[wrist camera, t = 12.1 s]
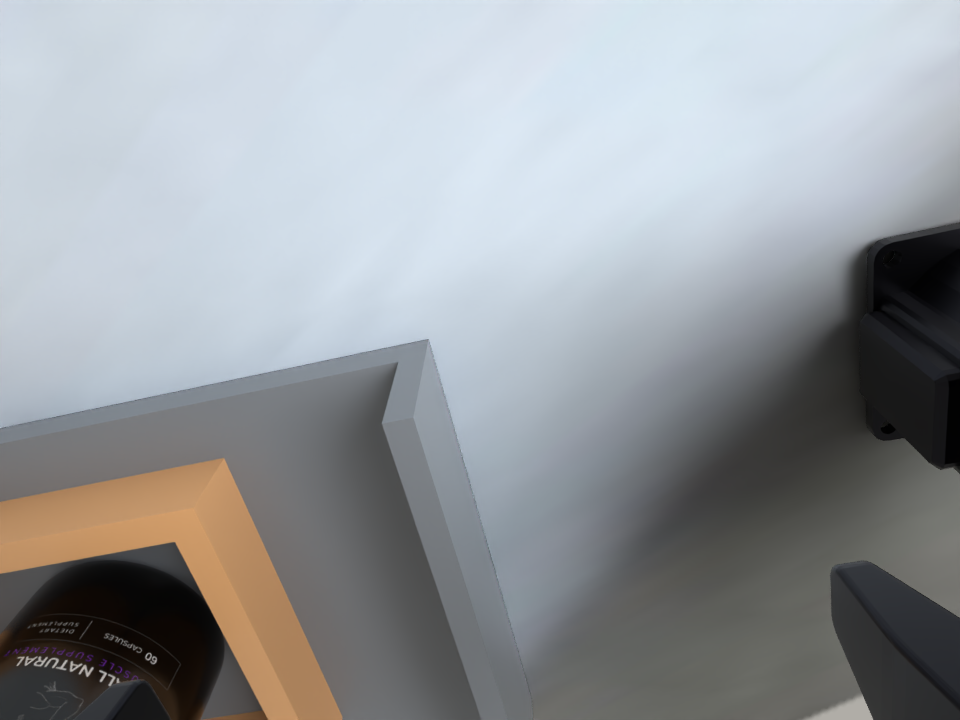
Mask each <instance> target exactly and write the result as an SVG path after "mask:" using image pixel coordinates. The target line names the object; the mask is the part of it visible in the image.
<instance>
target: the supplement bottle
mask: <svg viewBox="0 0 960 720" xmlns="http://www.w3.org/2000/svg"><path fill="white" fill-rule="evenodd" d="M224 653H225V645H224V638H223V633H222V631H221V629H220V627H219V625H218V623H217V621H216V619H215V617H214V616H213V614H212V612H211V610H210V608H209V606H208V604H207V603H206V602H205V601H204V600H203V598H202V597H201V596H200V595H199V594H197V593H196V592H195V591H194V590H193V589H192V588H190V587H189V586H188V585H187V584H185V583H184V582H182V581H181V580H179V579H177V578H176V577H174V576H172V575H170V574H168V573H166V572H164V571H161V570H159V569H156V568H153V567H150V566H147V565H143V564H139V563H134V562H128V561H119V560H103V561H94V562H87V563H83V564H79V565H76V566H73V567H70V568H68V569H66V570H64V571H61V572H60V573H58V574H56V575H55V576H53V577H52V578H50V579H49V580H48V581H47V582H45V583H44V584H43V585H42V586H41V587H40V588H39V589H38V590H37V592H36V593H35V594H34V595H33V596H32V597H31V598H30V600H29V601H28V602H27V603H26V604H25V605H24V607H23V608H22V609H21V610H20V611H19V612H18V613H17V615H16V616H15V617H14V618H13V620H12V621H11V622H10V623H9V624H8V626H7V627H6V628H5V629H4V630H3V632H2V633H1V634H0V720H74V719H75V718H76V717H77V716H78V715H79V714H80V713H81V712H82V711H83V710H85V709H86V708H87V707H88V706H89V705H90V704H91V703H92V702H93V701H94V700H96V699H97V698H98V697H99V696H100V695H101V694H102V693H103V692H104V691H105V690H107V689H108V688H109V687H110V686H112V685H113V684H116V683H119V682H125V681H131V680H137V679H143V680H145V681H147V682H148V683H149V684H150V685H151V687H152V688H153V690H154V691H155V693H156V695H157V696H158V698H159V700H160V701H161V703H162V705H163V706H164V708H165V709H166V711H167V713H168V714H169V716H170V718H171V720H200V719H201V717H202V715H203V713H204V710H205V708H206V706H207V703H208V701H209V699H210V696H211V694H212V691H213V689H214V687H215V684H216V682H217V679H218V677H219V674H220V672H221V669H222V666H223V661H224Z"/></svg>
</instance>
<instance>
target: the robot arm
mask: <svg viewBox="0 0 960 720" xmlns="http://www.w3.org/2000/svg"><path fill="white" fill-rule="evenodd" d="M891 251H894V253H895V254H894V257H893V259H892V260H891V261H890V262H888V263H886V264H883V258H884V256H885V255H886V254H887V253H888V252H891ZM860 393H861V395H862V396H863V397H864V398H865V399H866V424H867V428H868V429H869V430H870V431H871V432H872V433H873V435H874V436H875V437H876V438H877V439H880V440H883V441H885V440H894V439H900V438H905V439H906V440H907V441H908V442H909V443H910V444H911V445H912V446H913V447H914V448H915V449H916V450H917V451H918V452H919V453H920V454H921V455H922V456H923V457H924V458H925V459H926V460H927V461H928V462H929V463H930V464H932V465H934V466H935V467H937V468H938V469H940V470H942V469H948V468H954V469H955V470H956V471H957V472H958V473H959V474H960V223H956V224H951V225H947V226H942V227H937V228H932V229H928V230H923V231H918V232H913V233H909V234H904V235H899V236H894V237H889V238H885V239H882V240H880V241H878V242H877V243H875V244H874V245H873V246H872V247H871V249H870V250H869V252H868V255H867V313H866V314H865V315H864V316H863V318H862V319H861V321H860ZM885 421H888V422H889V424H888V425H887V426H885V427H881V426H882V424H883V423H884V422H885ZM830 579H831V613H832V621H833V625H834V628H835V631H836V634H837V636H838V639H839V641H840V643H841V646H842V648H843V650H844V653H845V655H846V657H847V660H848V662H849V664H850V667H851V669H852V671H853V673H854V676H855V678H856V680H857V683H858V685H859V687H860V690H861V692H862V694H863V697H864V699H865V701H866V704H867V706H868V708H869V710H870V713H871V715H872V717H873V720H960V618H959V617H957V616H956V615H954V614H953V613H951V612H950V611H948V610H946V609H945V608H943V607H942V606H940V605H938V604H937V603H935V602H934V601H932V600H930V599H929V598H927V597H926V596H924V595H922V594H921V593H919V592H918V591H916V590H914V589H913V588H911V587H910V586H908V585H906V584H905V583H903V582H902V581H900V580H898V579H897V578H895V577H894V576H892V575H891V574H889V573H887V572H886V571H884V570H883V569H881V568H879V567H878V566H876V565H875V564H873V563H871V562H868V561H857V562H850V563H844V564H838V565H836V566H834V567H833V568H832V570H831V575H830ZM74 720H171V718H170V716H169V714H168V713H167V711H166V709H165V708H164V706H163V705H162V703H161V701H160V700H159V698H158V696H157V695H156V693H155V691H154V690H153V688H152V687H151V685H150V684H149V683H148V682H147V681H145V680H143V679H137V680H131V681H125V682H119V683H116V684H113V685H112V686H110V687H109V688H108V689H107V690H105V691H104V692H103V693H102V694H101V695H100V696H99V697H98V698H97V699H96V700H94V701H93V702H92V703H91V704H90V705H89V706H88V707H87V708H86V709H85V710H83V711H82V712H81V713H80V714H79V715H78V716H77V717H76V718H75V719H74Z"/></svg>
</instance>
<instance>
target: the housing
mask: <svg viewBox="0 0 960 720" xmlns="http://www.w3.org/2000/svg"><path fill="white" fill-rule="evenodd" d="M103 560H119V561H128V562H134V563H139V564H143V565H147V566H150V567H153V568H156V569H159V570H161V571H164V572H166V573H168V574H170V575H172V576H174V577H176V578H177V579H179V580H181V581H182V582H184V583H185V584H187V585H188V586H189V587H190V588H192V589H193V590H194V591H195V592H196V593H197V594H199V595H200V596H201V597H202V598H203V600H204V601H205V602H206V603H207V604H208V606H209V608H210V610H211V612H212V614H213V616H214V617H215V619H216V621H217V623H218V625H219V627H220V629H221V631H222V633H223V638H224V645H225V653H224V661H223V666H222V669H221V672H220V674H219V677H218V679H217V682H216V684H215V687H214V689H213V691H212V694H211V696H210V699H209V701H208V703H207V706H206V708H205V710H204V713H203V715H202V717H201V719H200V720H533V710H532V698H531V694H530V691H529V687H528V684H527V681H526V677H525V674H524V670H523V667H522V663H521V660H520V656H519V653H518V649H517V646H516V642H515V639H514V635H513V632H512V628H511V625H510V621H509V618H508V614H507V611H506V607H505V604H504V600H503V597H502V593H501V590H500V586H499V583H498V579H497V576H496V573H495V569H494V566H493V562H492V559H491V555H490V552H489V548H488V545H487V541H486V538H485V534H484V531H483V527H482V524H481V520H480V517H479V513H478V510H477V506H476V503H475V499H474V496H473V492H472V489H471V485H470V482H469V478H468V475H467V471H466V468H465V465H464V461H463V458H462V454H461V451H460V447H459V444H458V440H457V437H456V433H455V430H454V426H453V423H452V419H451V416H450V412H449V409H448V405H447V402H446V398H445V395H444V391H443V388H442V384H441V381H440V377H439V374H438V370H437V367H436V363H435V360H434V356H433V353H432V350H431V346H430V343H429V339H428V340H423V341H418V342H413V343H408V344H404V345H399V346H394V347H389V348H384V349H380V350H375V351H370V352H365V353H360V354H356V355H351V356H346V357H341V358H336V359H332V360H327V361H322V362H317V363H313V364H308V365H303V366H298V367H293V368H289V369H284V370H279V371H274V372H269V373H265V374H260V375H255V376H250V377H245V378H241V379H236V380H231V381H226V382H221V383H217V384H212V385H207V386H202V387H197V388H193V389H188V390H183V391H178V392H173V393H169V394H164V395H159V396H154V397H149V398H145V399H140V400H135V401H130V402H125V403H121V404H116V405H111V406H106V407H102V408H97V409H92V410H87V411H82V412H78V413H73V414H68V415H63V416H58V417H54V418H49V419H44V420H39V421H34V422H30V423H25V424H20V425H15V426H10V427H6V428H1V429H0V634H1V633H2V632H3V630H4V629H5V628H6V627H7V626H8V624H9V623H10V622H11V621H12V620H13V618H14V617H15V616H16V615H17V613H18V612H19V611H20V610H21V609H22V608H23V607H24V605H25V604H26V603H27V602H28V601H29V600H30V598H31V597H32V596H33V595H34V594H35V593H36V592H37V590H38V589H39V588H40V587H41V586H42V585H43V584H44V583H45V582H47V581H48V580H49V579H50V578H52V577H53V576H55V575H56V574H58V573H60V572H61V571H64V570H66V569H68V568H70V567H73V566H76V565H79V564H83V563H87V562H94V561H103Z"/></svg>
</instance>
